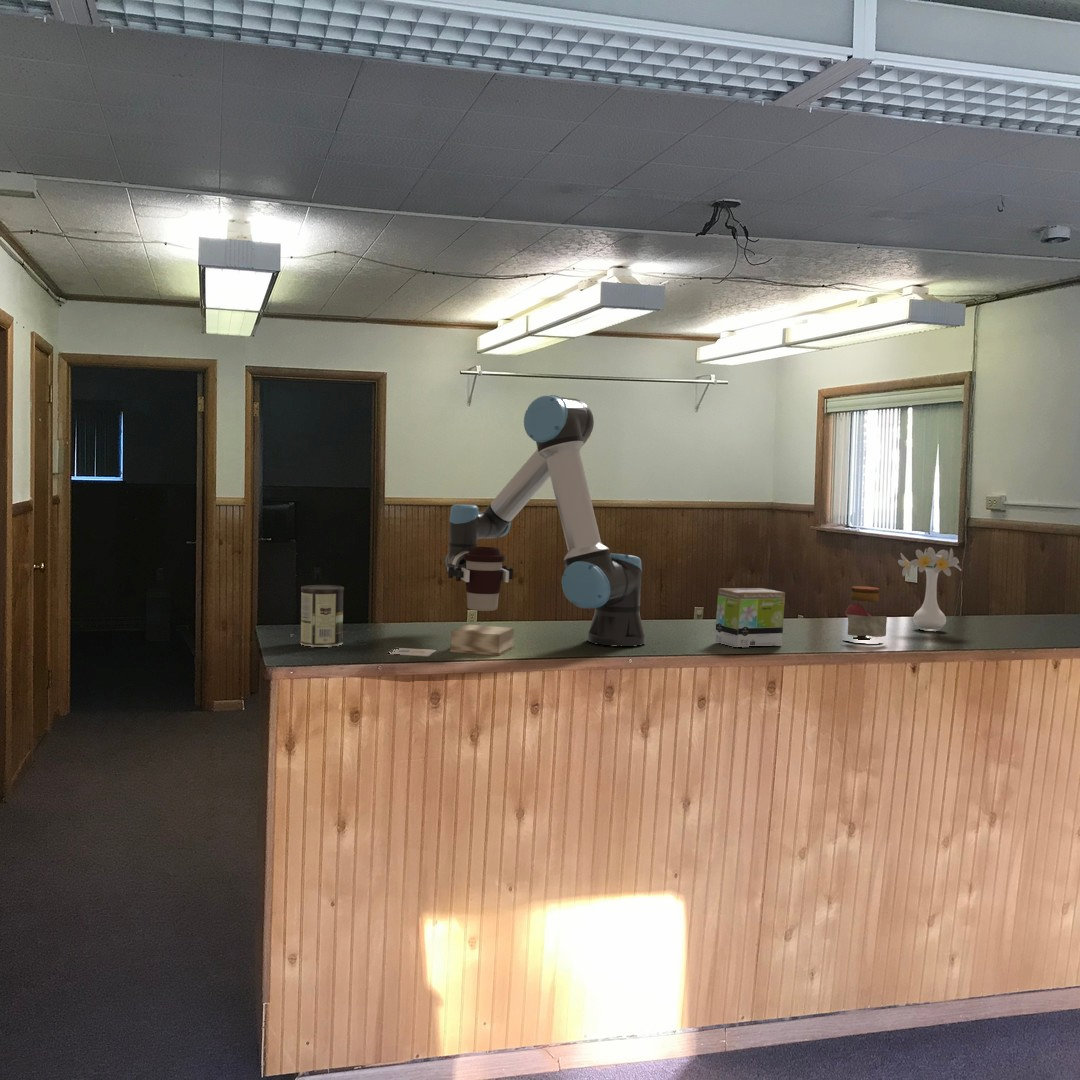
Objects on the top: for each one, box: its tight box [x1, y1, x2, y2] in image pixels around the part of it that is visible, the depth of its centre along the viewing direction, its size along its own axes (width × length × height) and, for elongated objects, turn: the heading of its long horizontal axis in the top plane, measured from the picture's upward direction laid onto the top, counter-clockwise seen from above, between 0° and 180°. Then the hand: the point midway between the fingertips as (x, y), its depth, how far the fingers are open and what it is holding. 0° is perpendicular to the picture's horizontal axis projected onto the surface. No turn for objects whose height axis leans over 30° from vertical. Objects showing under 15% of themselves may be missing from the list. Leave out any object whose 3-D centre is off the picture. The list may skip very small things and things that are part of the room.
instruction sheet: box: [388, 647, 437, 657], centre depth 256 cm, size 10×8×1 cm
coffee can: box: [300, 584, 345, 648], centre depth 262 cm, size 10×10×14 cm
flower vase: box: [897, 546, 962, 629], centre depth 322 cm, size 13×18×25 cm
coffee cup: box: [464, 546, 506, 612], centre depth 262 cm, size 10×10×15 cm
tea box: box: [714, 587, 786, 648], centre depth 284 cm, size 15×10×15 cm, turn 117°
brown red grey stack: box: [844, 585, 888, 640], centre depth 296 cm, size 12×13×15 cm
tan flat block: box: [449, 624, 515, 657], centre depth 262 cm, size 12×12×5 cm
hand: (487, 576), depth 257 cm, fingers closed on coffee cup, 9 cm apart
